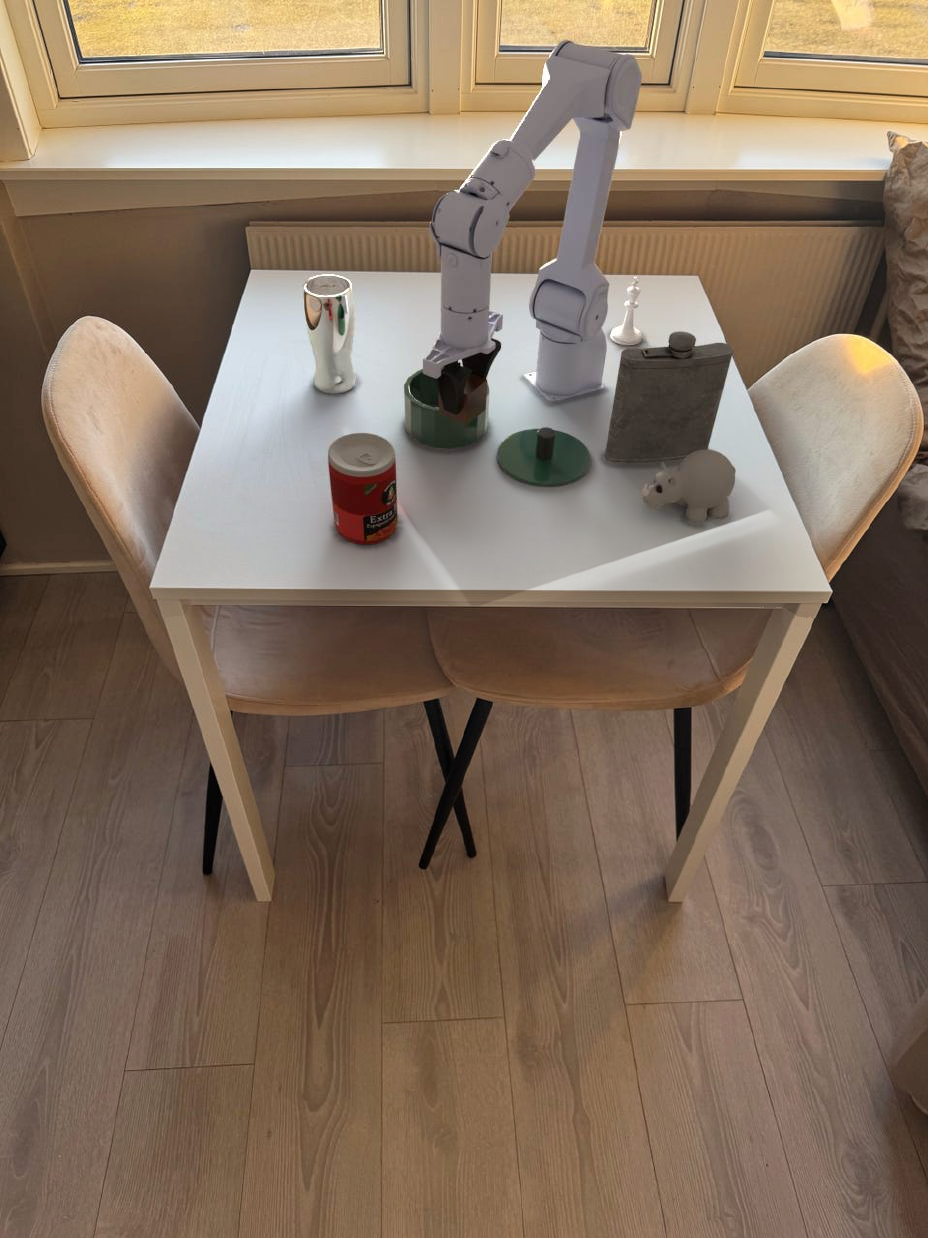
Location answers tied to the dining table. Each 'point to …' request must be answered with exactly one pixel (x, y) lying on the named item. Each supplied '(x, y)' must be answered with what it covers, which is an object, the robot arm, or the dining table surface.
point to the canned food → (363, 487)
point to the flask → (666, 400)
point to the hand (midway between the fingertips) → (462, 402)
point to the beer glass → (330, 331)
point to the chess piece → (628, 320)
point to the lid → (543, 457)
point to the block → (469, 401)
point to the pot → (437, 416)
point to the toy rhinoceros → (694, 485)
